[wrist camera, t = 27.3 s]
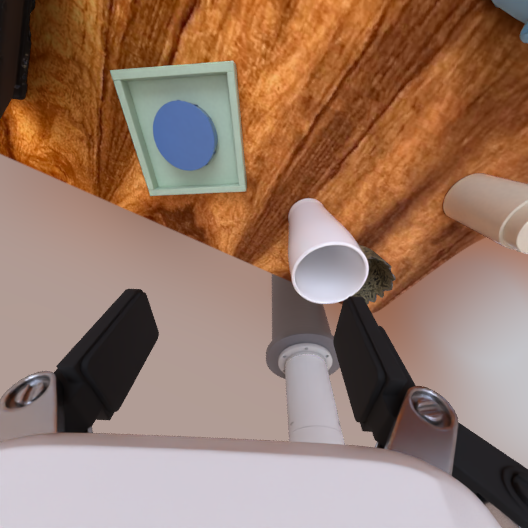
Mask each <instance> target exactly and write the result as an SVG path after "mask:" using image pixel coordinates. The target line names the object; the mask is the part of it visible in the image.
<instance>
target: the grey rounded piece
mask: <svg viewBox="0 0 528 528" xmlns="http://www.w3.org/2000/svg"><path fill="white" fill-rule="evenodd" d="M359 246H360V248H361V249H362V251H363V253H364V255H365V256H366V258H367V261H368V265H369V272H368V276H367V279H366V281H365V283H364V285H363V286H362V287H361V289H360V290H359V291H358V292H356V293H355V294H354V295H353V296H357V297H363V299H364V300H365V302H366V304H368V303H369V301H371V302H375V301H376V295H379V296H380V297H383V296H384V292H383V291H385V290H386V291H389V290H392V286H393V283H392V281H394V280H395V276H394V275H393V274H392V272H391V266H390V265H389V264H388V263H387V262H386V261H384V260H383V259H382V258H381V257H380V256H379V255H377V254H376V253H375V252H374V251H372V250H371V249H369V248H367V247H365V246H362V245H359ZM343 301H344V300H343Z"/></svg>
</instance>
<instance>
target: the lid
mask: <svg viewBox="0 0 528 528" xmlns="http://www.w3.org/2000/svg"><path fill="white" fill-rule="evenodd" d="M153 136H154V140H155V143H156V146H157V148H158V150H159V152H160V153H161V155H162V156H163V157H164V158H165V159H166V160H167V161H168V162H169V163H170V164H171V165H173V166H175V167H176V168H179V169H181V170H186V171H193V170H198V169H200V168H202V167H203V166H206V165H208V163H209V162H210V161H211V160H212V159H213V157H214V156H215V153H217V152H216V150H217V146H218V135H217V131H216V128H215V125H214V123H213V121H212V118H210V116H209V115H208V114H207V113H206V112H205V111H204V110H203V109H202V108H200V107H199V106H198V105H196V104H193V103H190V102H186V101H181V100H176V101H171V102H168V103H166V104H164V105H163V106H162V107H161V108H160V109H159V110H158V112H157V113H156V116H155V118H154V122H153Z"/></svg>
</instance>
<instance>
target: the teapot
mask: <svg viewBox="0 0 528 528" xmlns="http://www.w3.org/2000/svg"><path fill="white" fill-rule="evenodd" d="M491 1H492V2H493V3H494V5H495V6H496V7H498V8H501V9H502V10H503V11H505V12H506V13H508V14H509V15H511V16H512V17H514V18H516V19H517V20H519V21H521V22H523V23H524V24H525V25H524V27H523V29H522V30H521V33H520V40H521V41H522V42H523V43H528V0H491Z"/></svg>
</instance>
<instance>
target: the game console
mask: <svg viewBox="0 0 528 528" xmlns="http://www.w3.org/2000/svg"><path fill="white" fill-rule="evenodd" d="M34 8H35V0H0V118H1V117H2V115H3V113H4V111H5V109H6V108H7V106H8V104H9V102H10V101H11V99H19V100H23V99H24V98H25V96H26V91H27V84H26V82H27V73H28V65H29V56H30V48H31V32H30V27H29V21H30V14H31V12H32V10H33V9H34Z"/></svg>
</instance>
